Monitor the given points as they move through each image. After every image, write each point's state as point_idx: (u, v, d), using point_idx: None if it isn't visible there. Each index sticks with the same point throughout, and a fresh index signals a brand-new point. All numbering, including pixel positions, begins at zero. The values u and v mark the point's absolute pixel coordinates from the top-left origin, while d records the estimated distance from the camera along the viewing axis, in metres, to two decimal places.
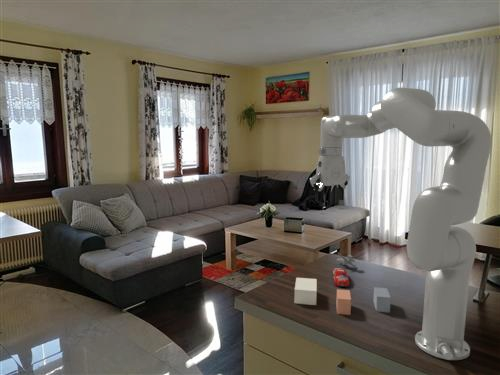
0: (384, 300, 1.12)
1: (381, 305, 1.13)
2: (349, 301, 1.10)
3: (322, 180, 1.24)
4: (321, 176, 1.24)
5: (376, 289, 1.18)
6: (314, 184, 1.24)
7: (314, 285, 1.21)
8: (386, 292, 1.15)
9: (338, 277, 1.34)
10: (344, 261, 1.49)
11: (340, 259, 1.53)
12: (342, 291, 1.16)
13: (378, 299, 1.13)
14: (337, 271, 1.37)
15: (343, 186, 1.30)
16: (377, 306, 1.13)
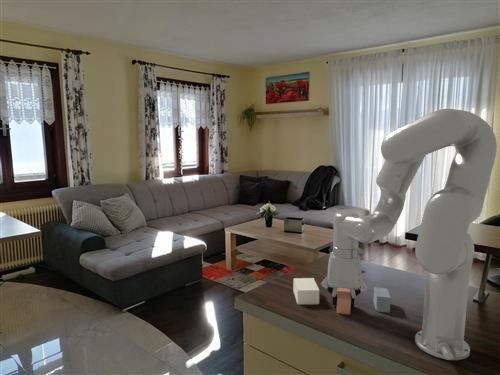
0: (384, 300, 1.12)
1: (381, 305, 1.13)
2: (349, 301, 1.10)
3: None
4: None
5: (376, 289, 1.18)
6: None
7: (314, 284, 1.22)
8: (386, 292, 1.15)
9: None
10: None
11: None
12: (342, 289, 1.16)
13: (378, 299, 1.13)
14: None
15: None
16: (377, 306, 1.13)
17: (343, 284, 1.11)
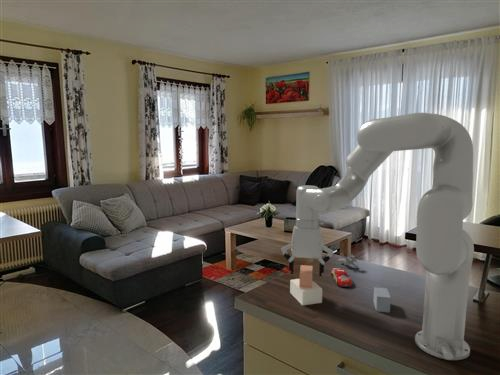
0: (384, 300, 1.12)
1: (381, 305, 1.13)
2: (310, 275, 1.19)
3: (322, 249, 1.21)
4: None
5: (376, 289, 1.18)
6: None
7: (313, 283, 1.23)
8: (386, 292, 1.15)
9: (340, 277, 1.33)
10: (346, 261, 1.49)
11: (342, 259, 1.52)
12: (305, 266, 1.25)
13: (378, 299, 1.13)
14: (338, 271, 1.36)
15: None
16: (377, 306, 1.13)
17: (305, 253, 1.19)
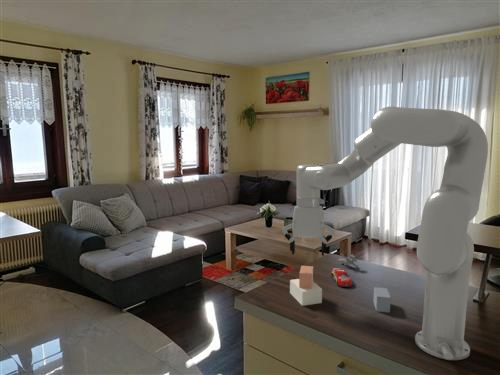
0: (384, 300, 1.12)
1: (381, 305, 1.13)
2: (310, 275, 1.18)
3: None
4: None
5: (376, 289, 1.18)
6: None
7: (313, 283, 1.23)
8: (386, 292, 1.15)
9: (340, 277, 1.33)
10: (347, 261, 1.49)
11: (342, 259, 1.52)
12: (306, 267, 1.24)
13: (378, 299, 1.13)
14: (338, 271, 1.36)
15: None
16: (377, 306, 1.13)
17: (306, 233, 1.17)
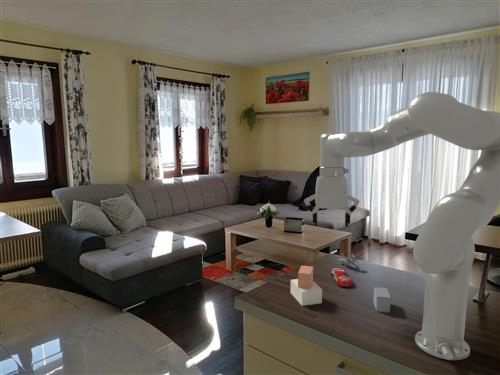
0: (384, 300, 1.12)
1: (381, 305, 1.13)
2: (308, 275, 1.18)
3: None
4: None
5: (376, 289, 1.18)
6: None
7: (313, 283, 1.22)
8: (386, 292, 1.15)
9: (340, 277, 1.33)
10: (347, 261, 1.49)
11: (342, 259, 1.52)
12: (306, 267, 1.24)
13: (378, 299, 1.13)
14: (338, 271, 1.36)
15: None
16: (377, 306, 1.13)
17: (330, 203, 1.15)
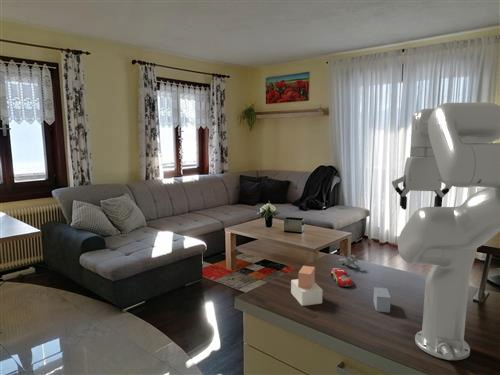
0: (384, 300, 1.12)
1: (381, 305, 1.13)
2: (309, 275, 1.18)
3: None
4: None
5: (376, 289, 1.18)
6: None
7: (314, 284, 1.22)
8: (386, 292, 1.15)
9: (341, 277, 1.33)
10: (347, 261, 1.49)
11: (342, 259, 1.52)
12: (307, 267, 1.24)
13: (378, 299, 1.13)
14: (338, 271, 1.36)
15: None
16: (377, 306, 1.13)
17: (423, 186, 1.08)
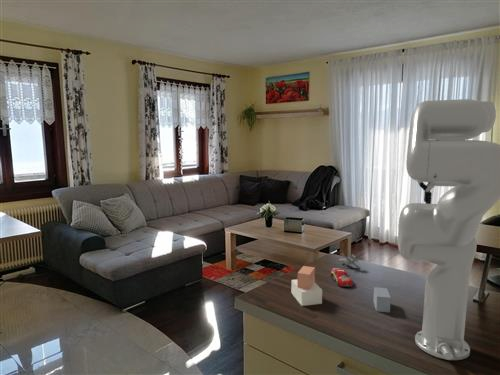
0: (384, 300, 1.12)
1: (381, 305, 1.13)
2: (308, 276, 1.18)
3: None
4: None
5: (376, 289, 1.18)
6: None
7: (314, 284, 1.22)
8: (386, 292, 1.15)
9: (341, 277, 1.33)
10: (347, 261, 1.49)
11: (343, 259, 1.52)
12: (307, 267, 1.24)
13: (378, 299, 1.13)
14: (338, 271, 1.36)
15: None
16: (377, 306, 1.13)
17: None
